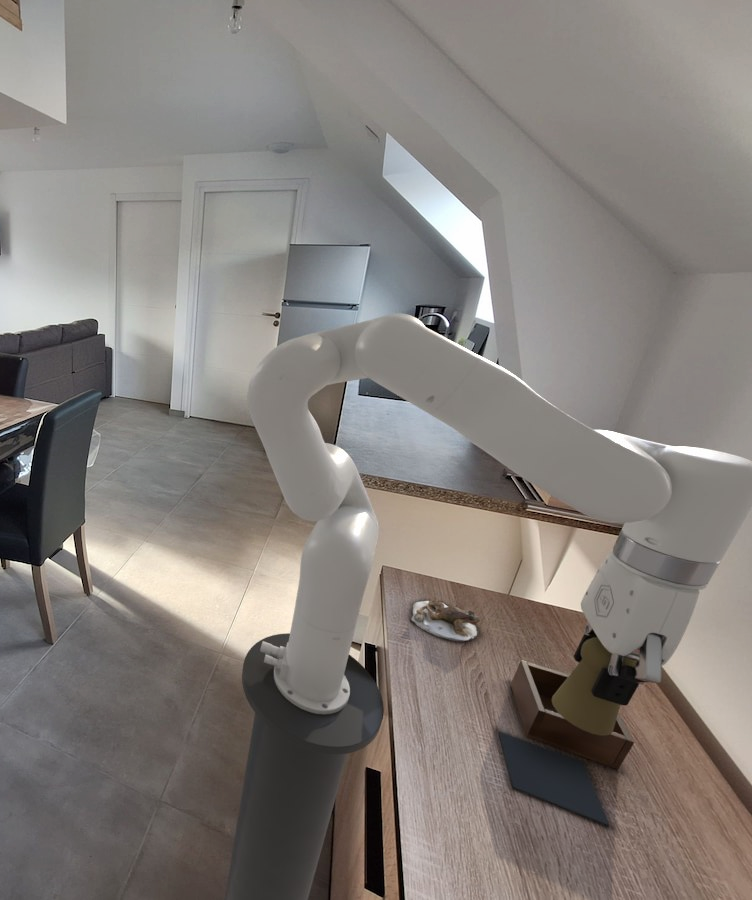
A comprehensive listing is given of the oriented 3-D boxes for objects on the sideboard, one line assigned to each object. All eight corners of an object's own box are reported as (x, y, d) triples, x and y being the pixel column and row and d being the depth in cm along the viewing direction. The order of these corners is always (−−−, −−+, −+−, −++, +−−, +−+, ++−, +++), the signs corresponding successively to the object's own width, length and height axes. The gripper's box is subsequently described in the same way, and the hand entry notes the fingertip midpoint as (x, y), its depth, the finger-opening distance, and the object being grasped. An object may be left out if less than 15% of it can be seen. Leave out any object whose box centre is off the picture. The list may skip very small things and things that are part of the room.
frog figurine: (476, 615, 93) (482, 600, 92) (478, 652, 84) (484, 636, 82) (414, 594, 99) (418, 579, 97) (409, 626, 89) (414, 610, 88)
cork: (624, 742, 55) (664, 674, 51) (563, 725, 57) (597, 658, 53) (598, 702, 60) (632, 637, 56) (543, 687, 62) (572, 624, 58)
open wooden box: (526, 736, 68) (538, 710, 66) (510, 684, 77) (520, 659, 75) (618, 769, 64) (634, 742, 62) (590, 710, 73) (603, 685, 71)
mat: (512, 788, 61) (513, 786, 61) (498, 732, 69) (499, 731, 68) (608, 826, 57) (609, 825, 57) (582, 763, 65) (583, 761, 64)
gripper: (588, 516, 59) (541, 627, 65) (654, 591, 44) (584, 723, 51) (666, 531, 56) (608, 645, 62) (764, 616, 41) (675, 754, 48)
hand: (598, 679), depth 56 cm, fingers closed on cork, 5 cm apart
